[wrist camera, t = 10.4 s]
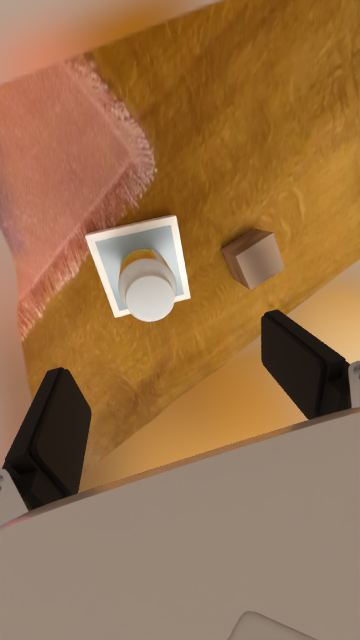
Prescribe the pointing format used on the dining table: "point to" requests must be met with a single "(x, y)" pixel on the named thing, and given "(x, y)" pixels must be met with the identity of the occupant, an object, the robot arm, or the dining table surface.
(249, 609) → the robot arm
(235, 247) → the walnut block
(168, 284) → the supplement bottle
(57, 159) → the dining table surface
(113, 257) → the base
